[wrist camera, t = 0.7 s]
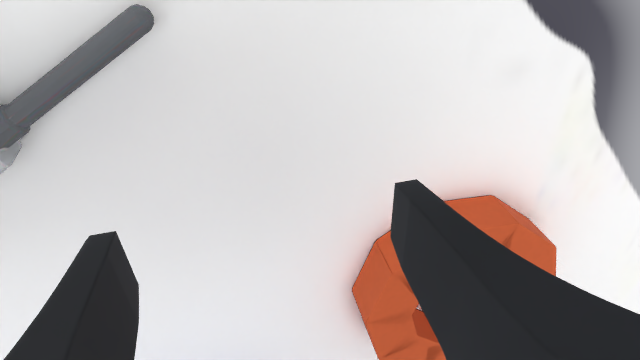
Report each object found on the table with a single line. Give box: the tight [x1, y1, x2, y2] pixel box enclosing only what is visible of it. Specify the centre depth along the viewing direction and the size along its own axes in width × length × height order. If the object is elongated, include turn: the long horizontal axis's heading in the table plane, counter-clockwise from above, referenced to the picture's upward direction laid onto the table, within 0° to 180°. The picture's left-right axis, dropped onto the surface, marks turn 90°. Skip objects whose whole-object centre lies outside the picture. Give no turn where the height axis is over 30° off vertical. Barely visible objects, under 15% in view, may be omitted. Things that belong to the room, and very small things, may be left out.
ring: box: [352, 195, 556, 360], centre depth 30 cm, size 13×12×3 cm
